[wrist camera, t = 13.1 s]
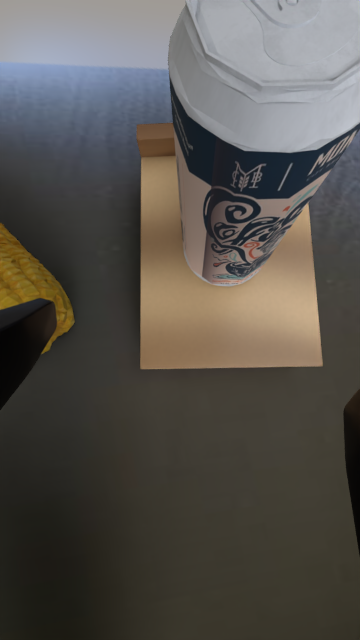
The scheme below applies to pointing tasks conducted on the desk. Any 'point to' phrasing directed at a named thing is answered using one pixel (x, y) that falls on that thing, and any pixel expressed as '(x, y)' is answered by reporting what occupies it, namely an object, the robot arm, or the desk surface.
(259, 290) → the small wooden stand
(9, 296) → the food
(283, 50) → the drink can
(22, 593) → the desk surface
